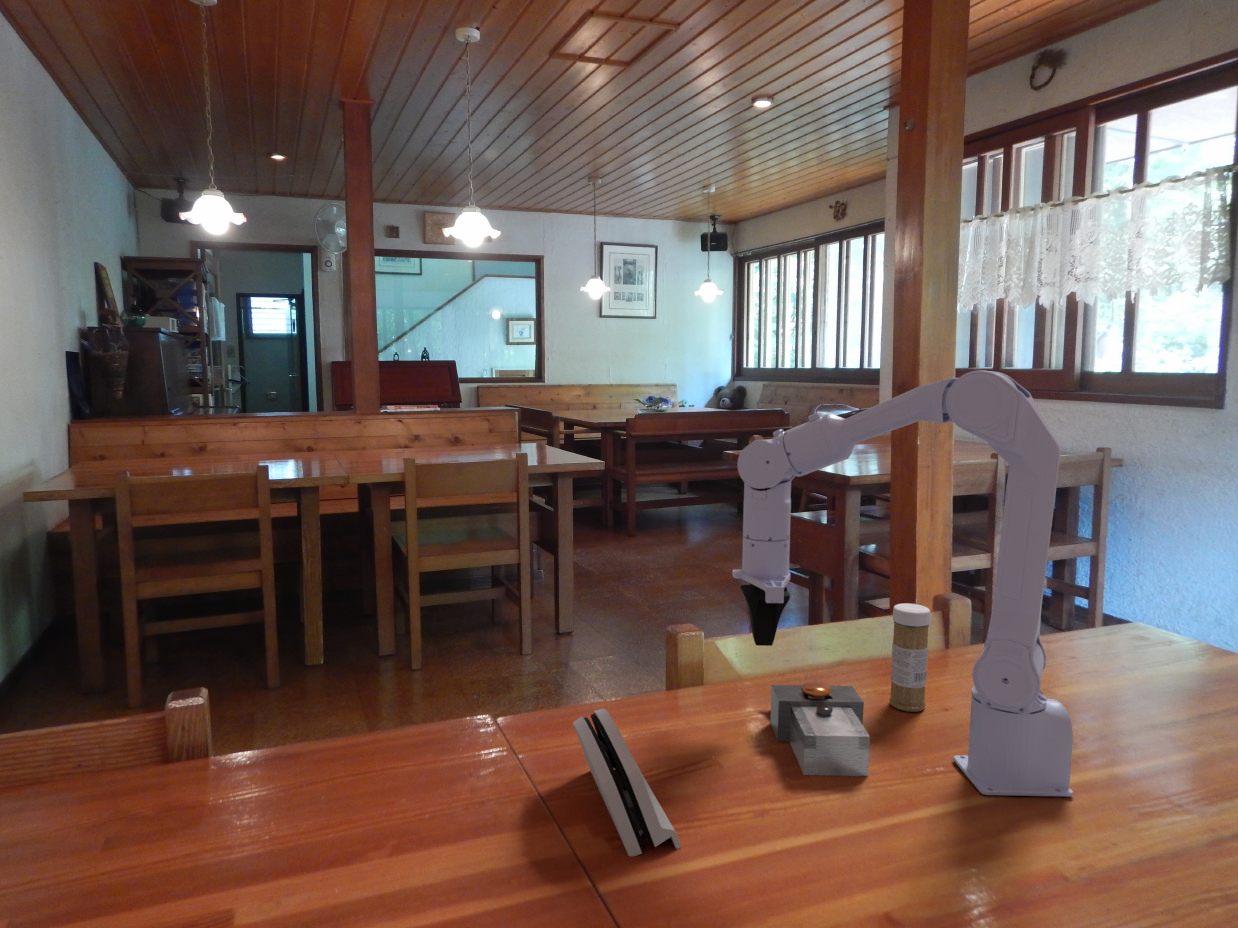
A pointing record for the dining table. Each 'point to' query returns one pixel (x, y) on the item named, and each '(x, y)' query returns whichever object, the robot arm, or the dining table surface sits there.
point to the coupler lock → (829, 740)
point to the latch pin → (816, 690)
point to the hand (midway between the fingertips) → (763, 643)
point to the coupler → (794, 696)
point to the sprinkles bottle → (909, 657)
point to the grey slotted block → (622, 784)
